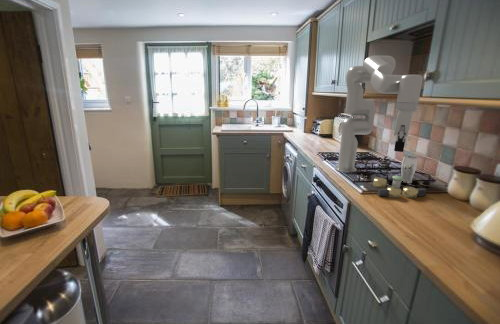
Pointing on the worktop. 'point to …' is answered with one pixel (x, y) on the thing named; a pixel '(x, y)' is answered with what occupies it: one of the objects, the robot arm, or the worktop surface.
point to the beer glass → (408, 168)
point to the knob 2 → (413, 192)
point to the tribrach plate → (397, 181)
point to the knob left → (378, 181)
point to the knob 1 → (390, 192)
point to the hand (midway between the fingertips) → (399, 149)
